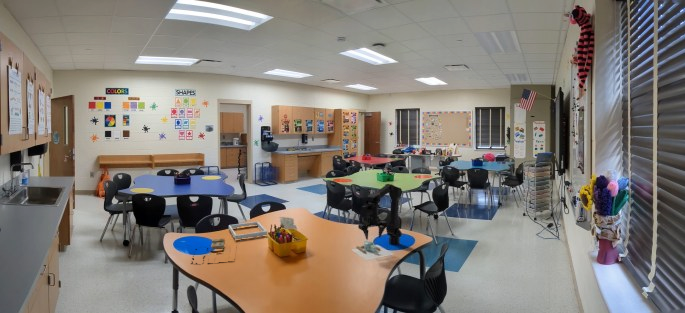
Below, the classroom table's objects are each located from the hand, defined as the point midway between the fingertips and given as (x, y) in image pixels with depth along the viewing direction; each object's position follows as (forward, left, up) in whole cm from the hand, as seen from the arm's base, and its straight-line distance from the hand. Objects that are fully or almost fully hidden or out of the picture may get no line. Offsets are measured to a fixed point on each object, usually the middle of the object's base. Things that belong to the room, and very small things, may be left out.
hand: (373, 238), depth 230 cm
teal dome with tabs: (0, -4, -9) cm, 10 cm away
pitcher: (+38, -59, -10) cm, 71 cm away
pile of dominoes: (+91, -47, -11) cm, 103 cm away
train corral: (+63, -84, -10) cm, 105 cm away
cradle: (0, -7, -9) cm, 11 cm away
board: (0, -1, -10) cm, 10 cm away
